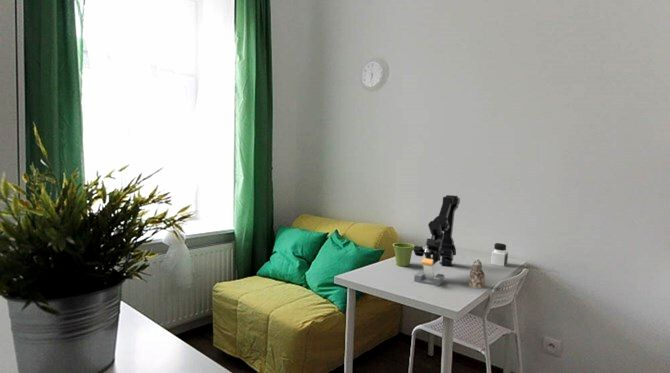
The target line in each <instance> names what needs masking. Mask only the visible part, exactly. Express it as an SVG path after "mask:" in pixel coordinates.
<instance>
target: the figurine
mask: <svg viewBox="0 0 670 373" xmlns="http://www.w3.org/2000/svg"><path fill="white" fill-rule="evenodd" d="M482 267H483V263H482V262H481V261H480V259H477V260H474V261H473V263H472V269H471V270H470V273H469V276H468V286H470V287H471V288H475V289H483V288H485V284H486V278H485V272H484V271H483V270H482V269H483V268H482Z"/></svg>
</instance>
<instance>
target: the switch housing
mask: <svg viewBox="0 0 670 373" xmlns="http://www.w3.org/2000/svg"><path fill="white" fill-rule="evenodd" d="M413 279H414V280H413V281H414V282H416V283H422V284H427V285H432V286H437V287H440V286H441V285H442V284H443V282H445V274H443V273H436V274H435V275H434V278H433V279H432V278H427V277H425V273H424V270H419V271H418V272H417V273H415V274H414V278H413Z"/></svg>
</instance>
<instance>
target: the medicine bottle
mask: <svg viewBox="0 0 670 373" xmlns="http://www.w3.org/2000/svg"><path fill="white" fill-rule="evenodd" d="M493 249H494V250H493V251H492V252H491V258H490V259H491V260H490V261H491V262H490V264H491V265H492V266H493V265H494V266H498V267H504V268H505V266H506V265H508V257H509V252H508V251H507V244H505V243H503V242H496V243H494V248H493Z"/></svg>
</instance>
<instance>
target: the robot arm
mask: <svg viewBox="0 0 670 373" xmlns="http://www.w3.org/2000/svg"><path fill="white" fill-rule="evenodd" d="M460 202H461V198H460V197H459V196H458V195H450V194H447V195H445V196H442V204H441V208H440V211H439V213H438V216H436V217H435V218H434V219H433V220H431V221H430V222H428V225H427V226H428V229H429V232H430V235H431V237H430V238H426V243H425V246H426V248H425V249H424V247H423V246H420V245H414V247H413V250H412V251H413V254H414V256H416V257H423V256H425V257H424V258H427V259H433V262H434V263H433V266H434V265H436V264H437V263H438V262H439V264H440V265H441V266H443V267H454V266H455V265H454V263H453V261H454V256H456V255H457V248H456V245H455V241H454V238H453V230H454V228H453V227H454V222H455V221H454V220H455V212H456V211H457V210H458V208H459V205H460V204H461V203H460Z"/></svg>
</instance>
